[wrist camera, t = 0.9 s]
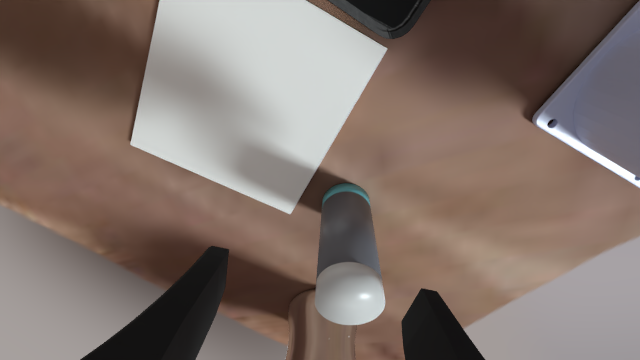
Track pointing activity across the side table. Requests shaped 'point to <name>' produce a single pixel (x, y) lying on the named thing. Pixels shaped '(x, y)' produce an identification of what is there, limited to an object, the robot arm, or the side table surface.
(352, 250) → the grey cylinder
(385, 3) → the phone
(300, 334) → the beer glass
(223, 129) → the paper
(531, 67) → the side table surface
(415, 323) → the robot arm
